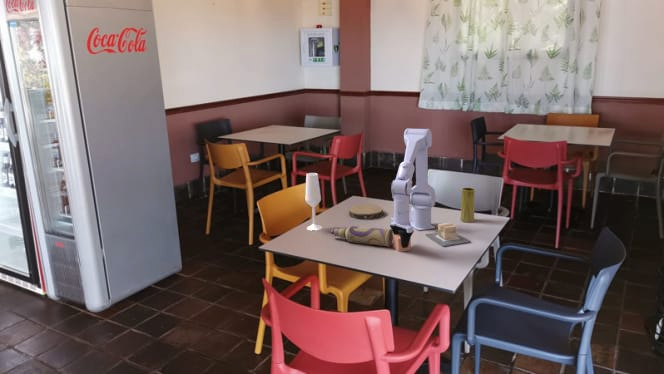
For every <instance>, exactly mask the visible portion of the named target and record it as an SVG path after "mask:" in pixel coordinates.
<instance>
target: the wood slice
mask: <svg viewBox="0 0 664 374" xmlns="http://www.w3.org/2000/svg"><path fill="white" fill-rule="evenodd" d="M348 215H349V216H348V217H350V218H353V219H355V220H361V221H362V220H364V221H367V220H375V219H379V218H382V217H383V215H384V207H382V206H381V205H378V204H373V203H372V204H371V203H362V204H361V203H360V204H356V205H353V206H352V205H351V206H350V207H349V208H348Z"/></svg>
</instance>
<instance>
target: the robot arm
mask: <svg viewBox="0 0 664 374" xmlns="http://www.w3.org/2000/svg"><path fill="white" fill-rule="evenodd" d="M403 141H404V144H405V146H406V148H405V153H404V159H403V161H402V162H401V163H400V164H399V166H398V170H397V173H396V177H395V179H394V180H392V182H391V188H390V189H391V190H390V191H391V194H392V196H391V197H392V199H393V216H391V218H390V222H391V223H390V225H389V227H390V229H391V230H392V232H393V235H396V234H399V235H400V238H401V245H402V248H407V247H408V244H409V241H410V238H412V235H413V234H414V232H415V231H414V229H415V230H417V231H426V230H432V229H435V228H436V227H435V226H434V225H432V208H433V207H434V206H435V205H436V201H437V199H436V197H437V196H436V191H435V188H434V186H431V185H430V184H429V175H428V173H429V172H428V170H429V169H428V167H429V166H428V162H429V161H428V156H429V155H428V150H429V148H430V147H432V145H433V133H432V131H431V129H430V128H409V127H407V128H406V129H405V130H404V132H403ZM414 162H415V165H414ZM414 172H415V180H416V181H415V185H414V186H413V180H412V179H413V175H414ZM410 205H411V206H412V207H411V209H410ZM413 228H414V229H413Z"/></svg>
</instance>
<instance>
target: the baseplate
mask: <svg viewBox="0 0 664 374" xmlns="http://www.w3.org/2000/svg"><path fill="white" fill-rule="evenodd" d="M425 237H427V238H428V239H429V240H432V241H433V242H435V243H436V244H438V245H439V246H440V247H443V248H447V247H451V246H453V247H454V246H459V245H464V244H471V243H472V242H471V240H469V239H468V238H466V237H464V236H462V235H461V234H459V233H457V232H456V238H455V239H449V240H444V239H442V238H440V237H439V236H438V231H437V232H432V233H426V234H425Z"/></svg>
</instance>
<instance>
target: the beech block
mask: <svg viewBox="0 0 664 374" xmlns="http://www.w3.org/2000/svg"><path fill="white" fill-rule="evenodd" d="M437 232H438V236H439V237H440V238H442V239H444V240H449V239H455V238H456V233H457V226H456V225H454V224H453V223H451V222H445V223H438V225H437Z"/></svg>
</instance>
